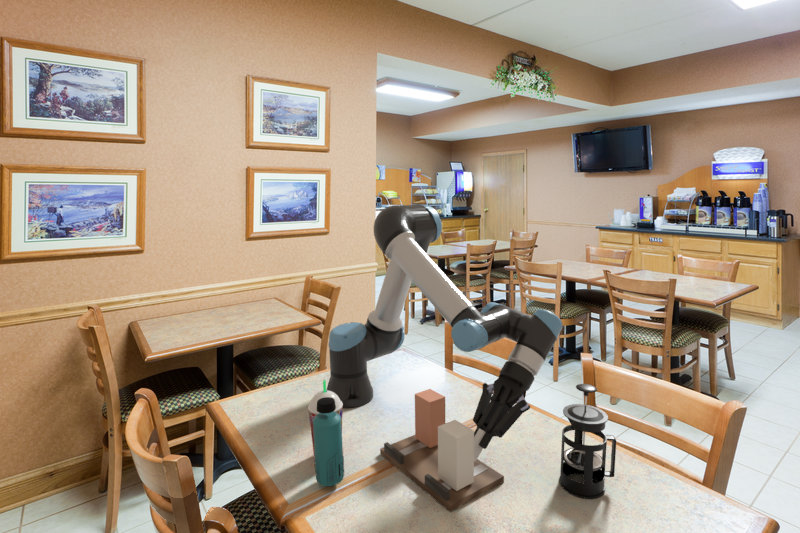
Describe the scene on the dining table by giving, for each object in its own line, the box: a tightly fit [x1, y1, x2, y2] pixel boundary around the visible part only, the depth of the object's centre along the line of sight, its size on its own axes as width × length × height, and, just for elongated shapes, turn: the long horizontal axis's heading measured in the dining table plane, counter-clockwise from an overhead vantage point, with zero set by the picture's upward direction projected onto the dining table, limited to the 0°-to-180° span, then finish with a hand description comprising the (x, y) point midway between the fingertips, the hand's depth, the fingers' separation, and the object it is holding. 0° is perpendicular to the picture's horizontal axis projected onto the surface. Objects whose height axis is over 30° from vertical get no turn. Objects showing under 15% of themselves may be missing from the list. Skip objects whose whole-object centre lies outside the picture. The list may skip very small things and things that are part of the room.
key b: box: [414, 388, 446, 448], centre depth 113 cm, size 5×6×12 cm
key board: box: [379, 434, 505, 513], centre depth 106 cm, size 16×26×4 cm, turn 35°
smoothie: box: [307, 379, 344, 457], centre depth 109 cm, size 8×8×20 cm
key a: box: [438, 419, 475, 491], centre depth 97 cm, size 5×6×12 cm
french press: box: [558, 383, 617, 500], centre depth 97 cm, size 12×9×23 cm
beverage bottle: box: [313, 397, 345, 487], centre depth 99 cm, size 6×7×20 cm
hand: (469, 458), depth 99 cm, fingers closed
